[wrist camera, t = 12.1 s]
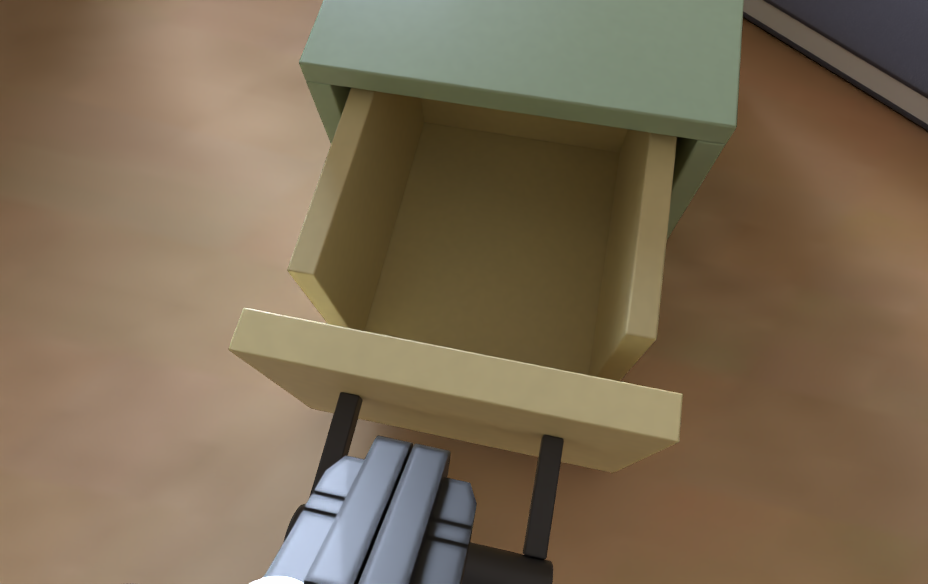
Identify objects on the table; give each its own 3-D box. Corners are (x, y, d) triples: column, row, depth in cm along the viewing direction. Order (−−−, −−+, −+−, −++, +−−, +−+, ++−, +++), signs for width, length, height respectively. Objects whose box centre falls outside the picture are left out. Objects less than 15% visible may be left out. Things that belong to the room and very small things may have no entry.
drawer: (596, 622, 20) (661, 675, 12) (268, 543, 21) (153, 549, 14) (651, 158, 26) (714, 15, 19) (398, 119, 27) (367, -29, 20)
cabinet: (648, 270, 25) (737, 127, 16) (360, 220, 27) (297, 62, 18) (677, 12, 30) (755, -204, 21) (435, -19, 32) (415, -234, 23)
